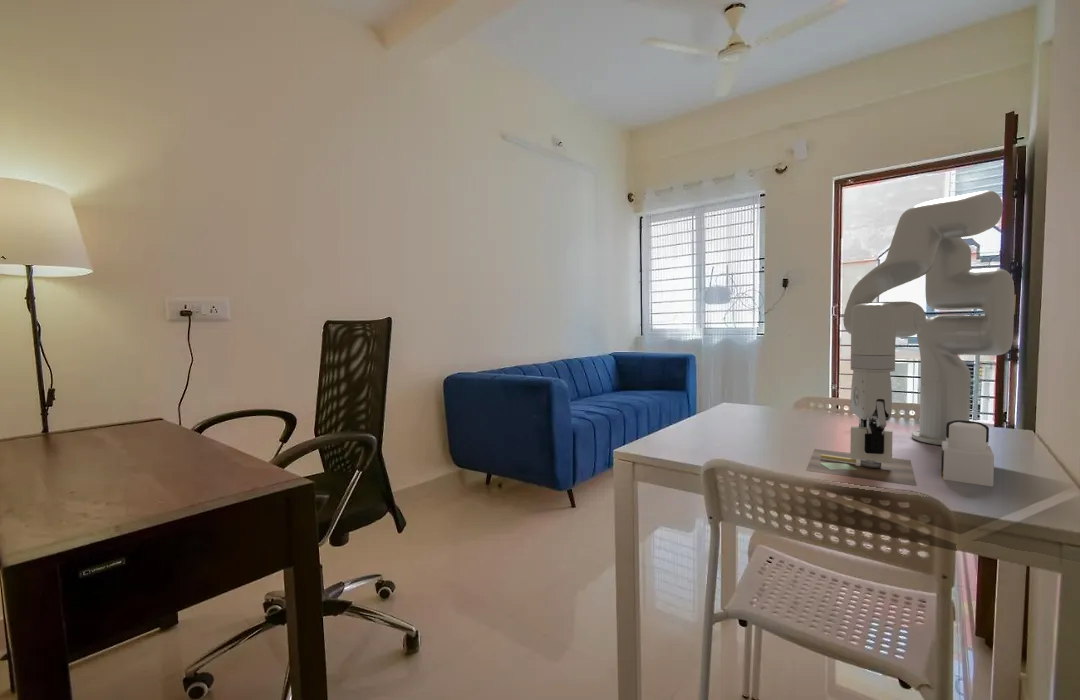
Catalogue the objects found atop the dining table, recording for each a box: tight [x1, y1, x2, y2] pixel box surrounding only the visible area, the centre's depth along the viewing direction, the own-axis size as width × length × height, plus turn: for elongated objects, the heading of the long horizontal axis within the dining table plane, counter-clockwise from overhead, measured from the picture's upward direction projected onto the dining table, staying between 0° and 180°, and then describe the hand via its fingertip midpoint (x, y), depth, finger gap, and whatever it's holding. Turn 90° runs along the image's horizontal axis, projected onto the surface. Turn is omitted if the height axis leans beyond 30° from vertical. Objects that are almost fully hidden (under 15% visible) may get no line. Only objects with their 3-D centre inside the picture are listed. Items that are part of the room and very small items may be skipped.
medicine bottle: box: [940, 420, 995, 487], centre depth 90 cm, size 7×7×12 cm
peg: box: [821, 425, 894, 468], centre depth 100 cm, size 4×12×8 cm, turn 50°
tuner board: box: [805, 448, 918, 487], centre depth 100 cm, size 18×18×1 cm
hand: (870, 449), depth 98 cm, fingers closed on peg, 3 cm apart
